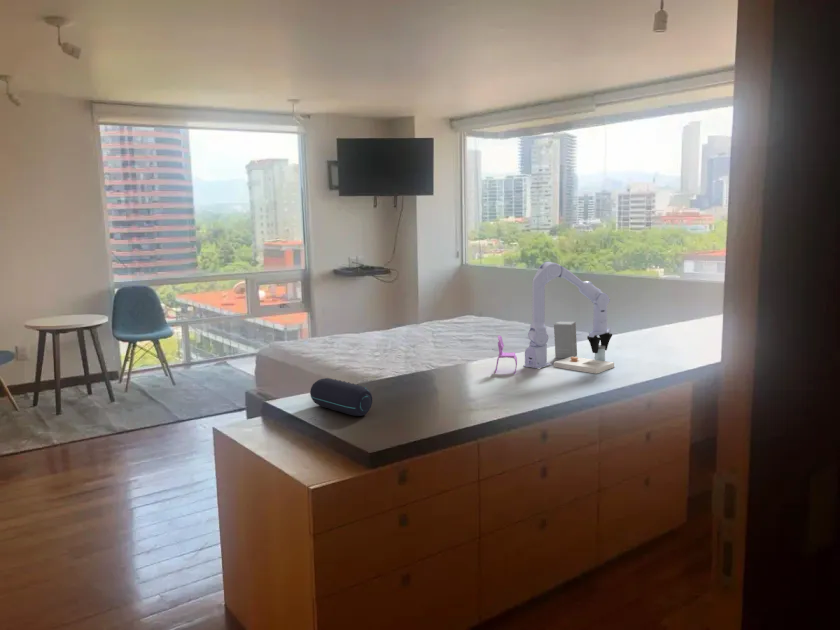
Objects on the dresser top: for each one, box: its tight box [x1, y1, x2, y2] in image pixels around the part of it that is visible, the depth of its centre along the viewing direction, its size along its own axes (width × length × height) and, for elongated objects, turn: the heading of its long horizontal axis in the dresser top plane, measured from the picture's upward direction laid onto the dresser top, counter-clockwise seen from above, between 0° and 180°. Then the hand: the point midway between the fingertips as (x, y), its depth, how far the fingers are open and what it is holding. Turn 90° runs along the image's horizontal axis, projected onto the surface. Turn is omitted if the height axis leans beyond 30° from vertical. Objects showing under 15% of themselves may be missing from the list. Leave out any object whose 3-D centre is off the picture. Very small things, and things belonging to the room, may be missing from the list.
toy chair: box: [494, 335, 518, 374], centre depth 267 cm, size 8×9×15 cm
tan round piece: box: [571, 356, 578, 362], centre depth 275 cm, size 3×3×3 cm
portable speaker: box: [309, 377, 373, 417], centre depth 219 cm, size 25×10×10 cm, turn 46°
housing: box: [553, 356, 615, 375], centre depth 272 cm, size 14×20×2 cm
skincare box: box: [553, 321, 578, 359], centre depth 291 cm, size 8×7×16 cm
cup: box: [594, 344, 606, 361], centre depth 279 cm, size 4×4×7 cm
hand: (599, 351), depth 279 cm, fingers open, 7 cm apart
